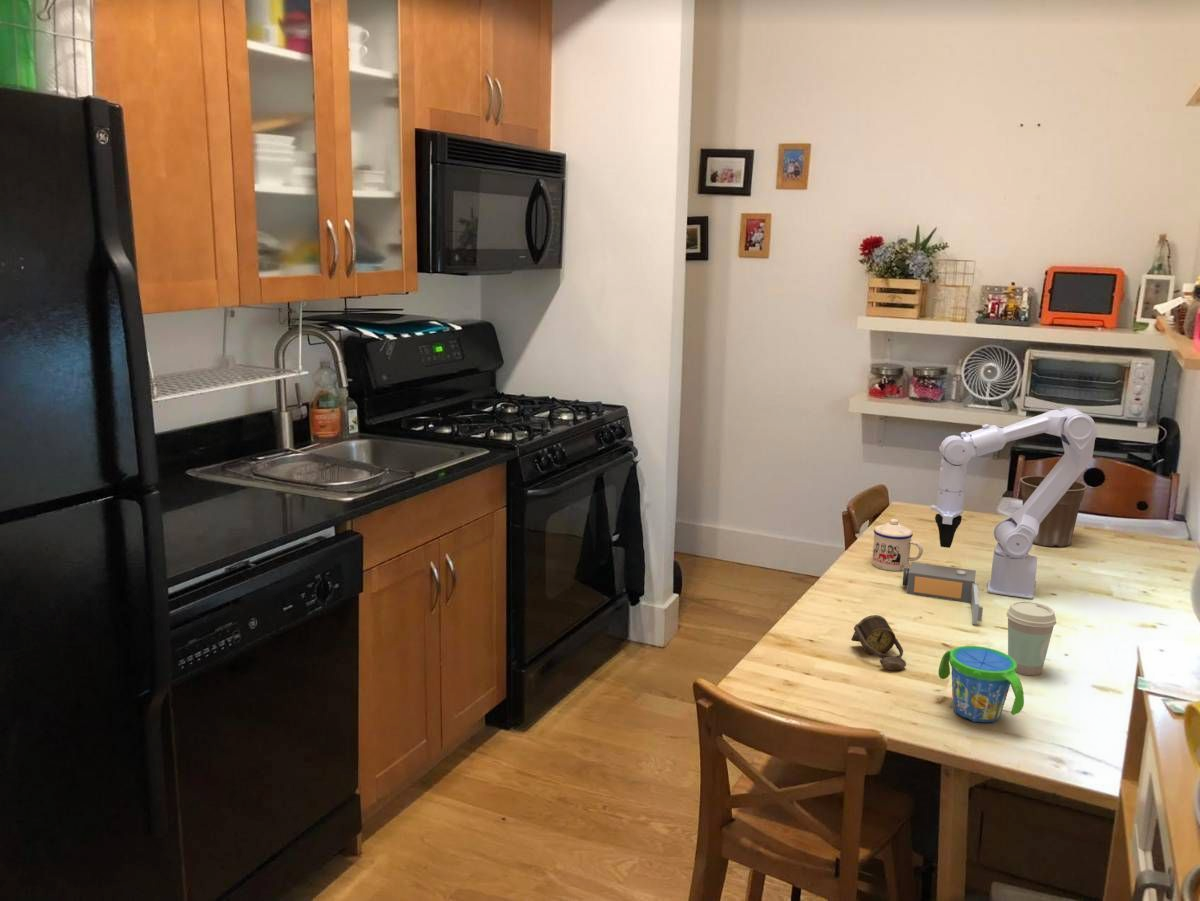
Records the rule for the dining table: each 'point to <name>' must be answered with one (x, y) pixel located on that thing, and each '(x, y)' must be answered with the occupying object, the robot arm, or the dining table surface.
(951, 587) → the camera body
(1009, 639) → the coffee cup
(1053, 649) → the dining table surface
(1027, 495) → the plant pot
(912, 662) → the dining table surface
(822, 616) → the dining table surface
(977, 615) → the grey long bar
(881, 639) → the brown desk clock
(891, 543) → the teacup with lid
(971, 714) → the snack cup
